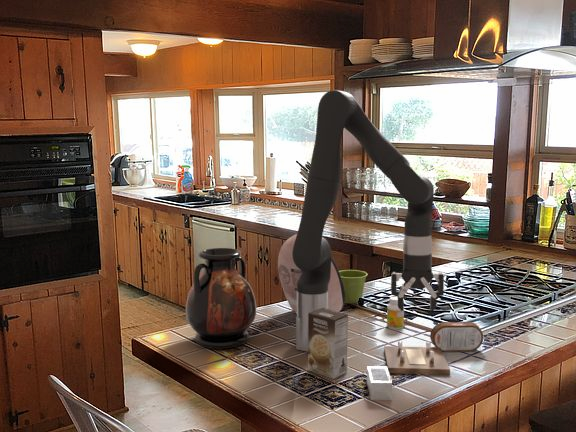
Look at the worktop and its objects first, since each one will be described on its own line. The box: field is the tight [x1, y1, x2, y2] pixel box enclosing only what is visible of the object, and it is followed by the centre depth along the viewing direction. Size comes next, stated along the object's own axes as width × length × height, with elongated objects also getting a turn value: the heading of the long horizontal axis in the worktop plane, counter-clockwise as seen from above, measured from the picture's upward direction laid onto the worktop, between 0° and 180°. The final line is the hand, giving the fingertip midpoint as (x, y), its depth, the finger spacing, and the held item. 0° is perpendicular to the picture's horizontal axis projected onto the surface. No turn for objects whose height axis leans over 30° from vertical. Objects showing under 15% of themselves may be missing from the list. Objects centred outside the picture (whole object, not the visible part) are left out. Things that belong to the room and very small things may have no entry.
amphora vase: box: [185, 247, 257, 350], centre depth 179 cm, size 22×22×28 cm
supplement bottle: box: [386, 296, 405, 330], centre depth 191 cm, size 5×5×10 cm
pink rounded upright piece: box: [277, 233, 346, 314], centre depth 201 cm, size 22×20×30 cm
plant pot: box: [339, 269, 369, 304], centre depth 219 cm, size 12×12×11 cm
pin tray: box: [383, 340, 451, 376], centre depth 162 cm, size 16×16×4 cm
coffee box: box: [307, 308, 349, 380], centre depth 155 cm, size 9×6×16 cm
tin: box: [429, 321, 484, 353], centre depth 170 cm, size 15×3×8 cm, turn 91°
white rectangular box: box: [366, 365, 393, 401], centre depth 144 cm, size 5×10×5 cm, turn 178°
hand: (416, 310), depth 160 cm, fingers open, 7 cm apart
